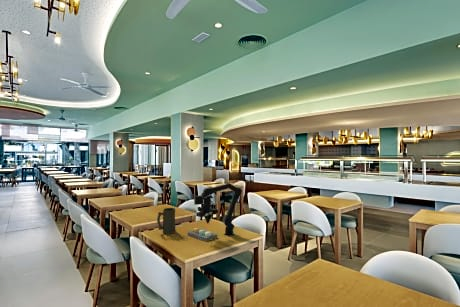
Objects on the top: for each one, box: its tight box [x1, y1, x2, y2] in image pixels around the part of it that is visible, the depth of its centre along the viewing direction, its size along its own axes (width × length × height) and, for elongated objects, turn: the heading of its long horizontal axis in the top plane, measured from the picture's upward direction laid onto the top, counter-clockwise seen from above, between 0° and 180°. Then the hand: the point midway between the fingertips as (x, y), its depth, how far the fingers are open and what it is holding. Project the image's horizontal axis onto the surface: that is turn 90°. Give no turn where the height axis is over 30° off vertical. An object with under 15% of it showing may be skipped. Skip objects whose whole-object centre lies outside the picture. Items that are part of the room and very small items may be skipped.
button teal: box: [199, 229, 206, 235], centre depth 198 cm, size 5×5×4 cm
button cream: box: [205, 231, 212, 237], centre depth 194 cm, size 5×5×4 cm
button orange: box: [193, 227, 200, 233], centre depth 203 cm, size 5×5×4 cm
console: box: [187, 229, 218, 242], centre depth 198 cm, size 12×22×2 cm, turn 47°
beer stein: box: [156, 207, 177, 235], centre depth 208 cm, size 15×11×20 cm
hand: (207, 223), depth 198 cm, fingers closed
